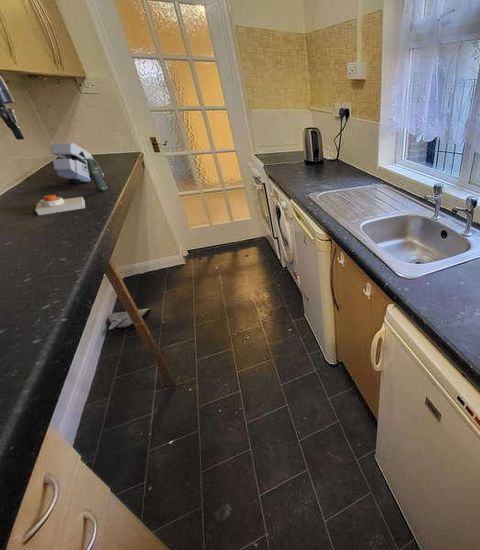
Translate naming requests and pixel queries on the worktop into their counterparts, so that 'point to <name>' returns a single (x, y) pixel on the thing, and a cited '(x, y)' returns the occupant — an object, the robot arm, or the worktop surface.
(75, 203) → the button base
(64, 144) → the robotic device
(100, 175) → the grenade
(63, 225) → the worktop surface
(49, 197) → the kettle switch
